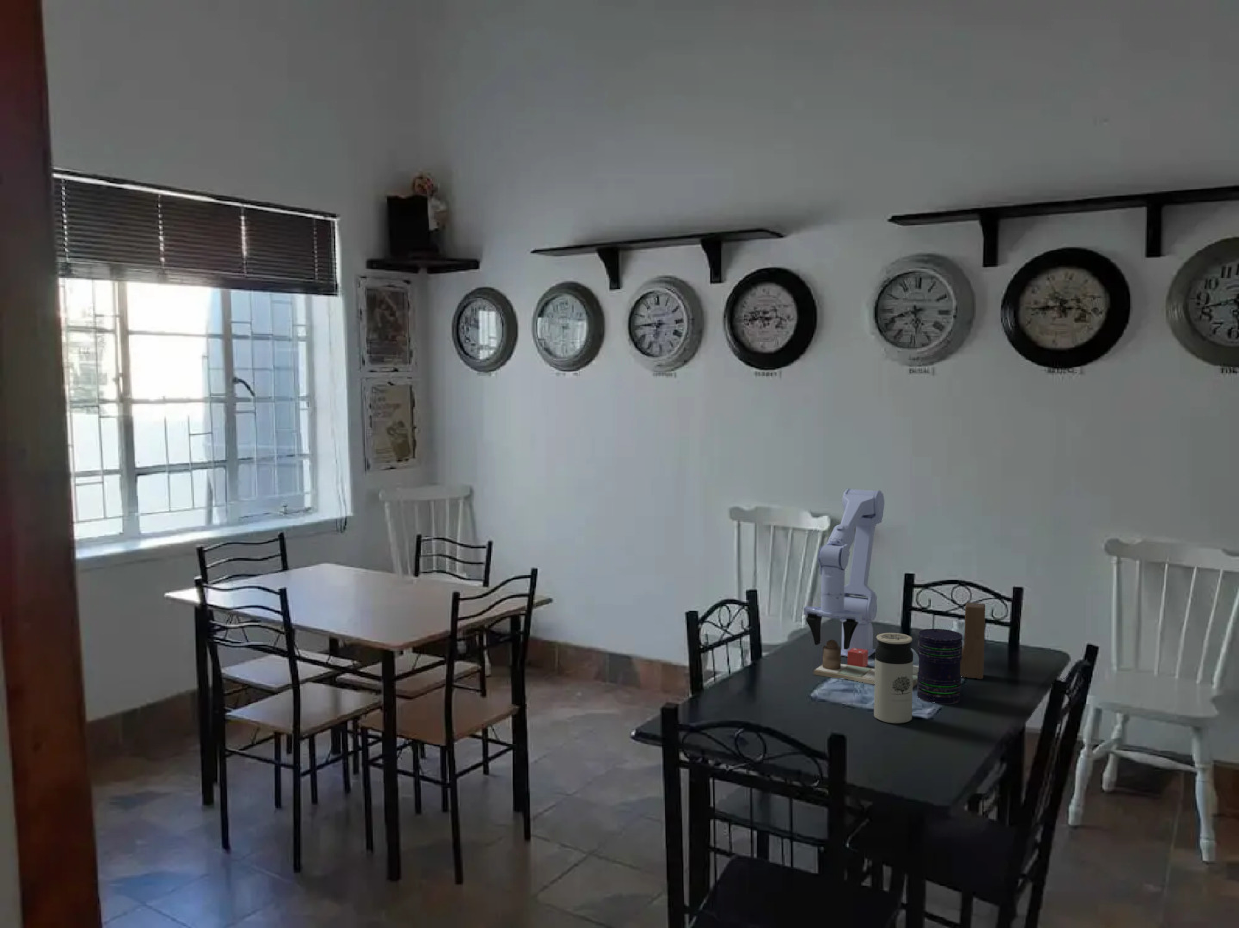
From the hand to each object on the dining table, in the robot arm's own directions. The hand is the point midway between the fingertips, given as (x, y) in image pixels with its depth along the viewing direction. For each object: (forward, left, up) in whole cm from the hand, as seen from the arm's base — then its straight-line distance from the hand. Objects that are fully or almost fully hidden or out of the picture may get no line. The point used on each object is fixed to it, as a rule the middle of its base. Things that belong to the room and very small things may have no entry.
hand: (831, 646), depth 249 cm
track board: (0, +9, -7) cm, 11 cm away
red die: (-8, +4, -7) cm, 11 cm away
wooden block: (-14, +29, -7) cm, 33 cm away
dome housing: (-10, +16, -7) cm, 20 cm away
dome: (-10, +16, -6) cm, 20 cm away
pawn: (0, 0, -5) cm, 5 cm away
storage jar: (+6, +28, -7) cm, 29 cm away
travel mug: (+25, +23, -7) cm, 35 cm away
